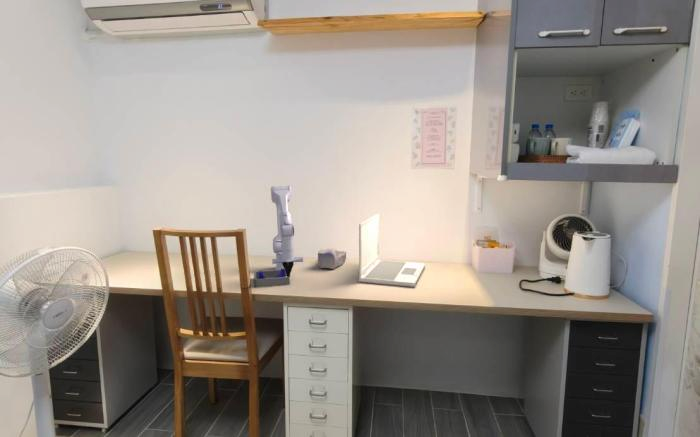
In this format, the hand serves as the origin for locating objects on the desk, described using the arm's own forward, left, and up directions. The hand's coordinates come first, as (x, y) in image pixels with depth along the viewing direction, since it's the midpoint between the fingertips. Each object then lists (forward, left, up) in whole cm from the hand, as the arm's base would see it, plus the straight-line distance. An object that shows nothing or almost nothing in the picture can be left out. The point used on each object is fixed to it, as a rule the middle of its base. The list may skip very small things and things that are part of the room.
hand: (288, 277), depth 192 cm
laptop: (+4, +52, -2) cm, 52 cm away
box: (0, -8, -1) cm, 8 cm away
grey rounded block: (-21, +25, -2) cm, 33 cm away
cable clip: (+2, -8, -2) cm, 8 cm away
